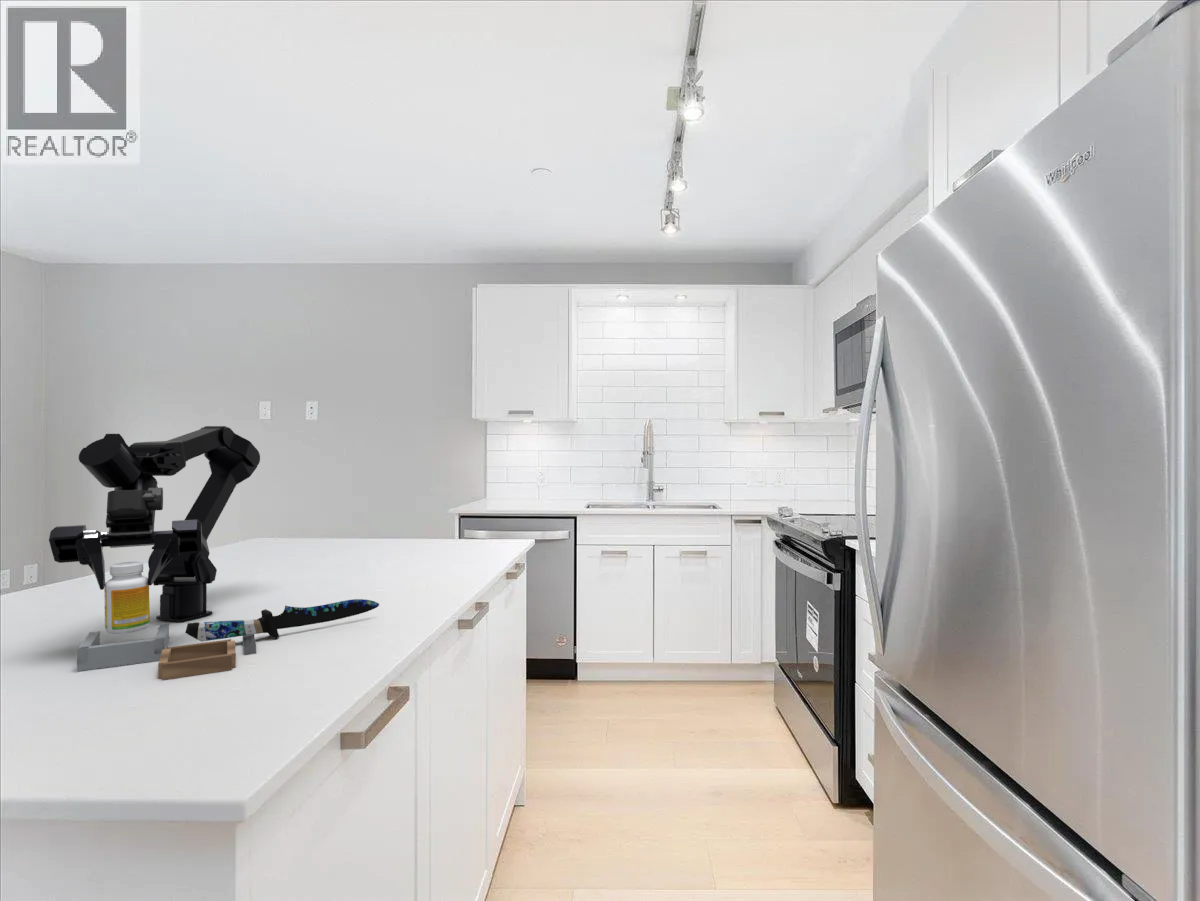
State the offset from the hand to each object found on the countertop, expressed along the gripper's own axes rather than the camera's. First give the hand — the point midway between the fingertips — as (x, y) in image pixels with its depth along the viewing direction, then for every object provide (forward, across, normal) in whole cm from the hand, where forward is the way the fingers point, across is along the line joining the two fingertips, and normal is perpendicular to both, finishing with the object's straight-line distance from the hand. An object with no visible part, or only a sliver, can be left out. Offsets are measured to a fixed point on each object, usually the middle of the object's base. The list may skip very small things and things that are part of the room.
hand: (125, 585), depth 95 cm
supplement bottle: (+4, 0, +6) cm, 7 cm away
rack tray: (+7, 0, +8) cm, 11 cm away
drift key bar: (+10, +16, +5) cm, 19 cm away
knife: (+6, +22, +9) cm, 25 cm away
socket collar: (+14, +9, +1) cm, 17 cm away
